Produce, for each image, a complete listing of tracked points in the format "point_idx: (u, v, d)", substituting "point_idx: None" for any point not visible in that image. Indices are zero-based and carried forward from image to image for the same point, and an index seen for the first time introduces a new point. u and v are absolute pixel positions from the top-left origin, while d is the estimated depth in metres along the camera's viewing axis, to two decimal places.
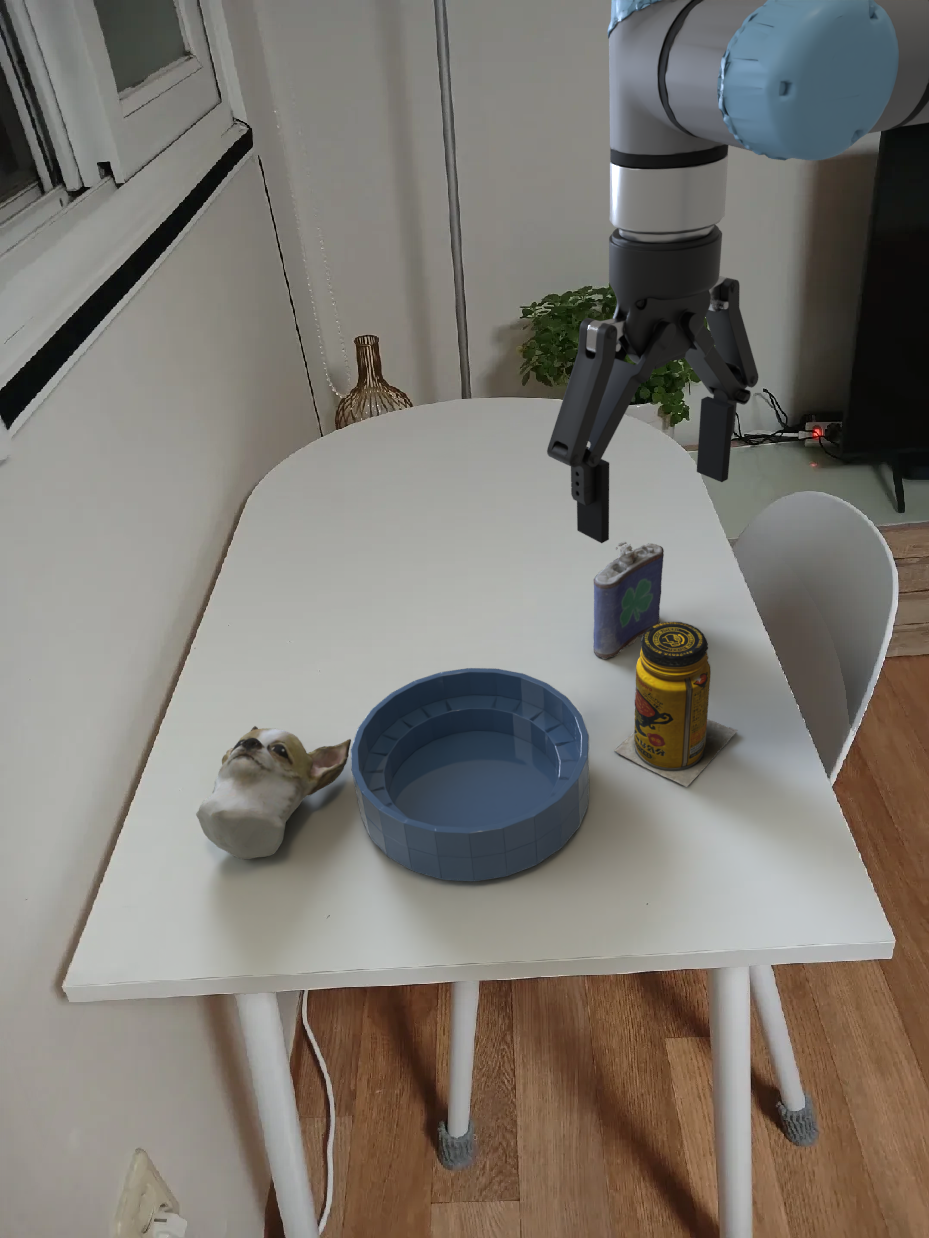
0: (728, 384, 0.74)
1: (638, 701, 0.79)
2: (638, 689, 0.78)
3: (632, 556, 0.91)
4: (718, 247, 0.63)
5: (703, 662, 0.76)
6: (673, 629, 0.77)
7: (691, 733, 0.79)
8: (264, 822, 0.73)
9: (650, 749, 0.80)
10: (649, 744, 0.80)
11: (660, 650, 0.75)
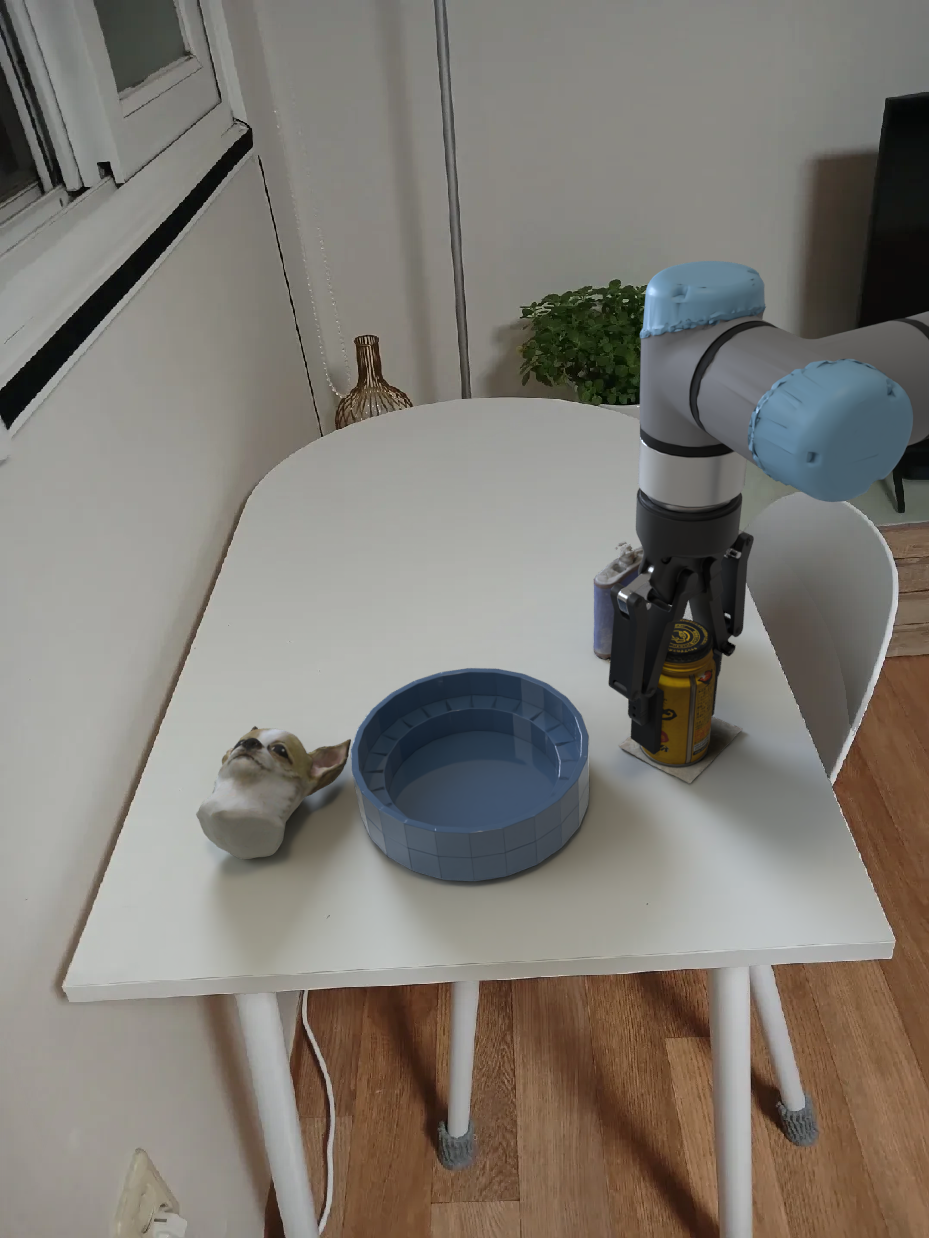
0: (719, 633, 0.78)
1: None
2: None
3: (632, 556, 0.91)
4: (738, 512, 0.68)
5: (708, 659, 0.76)
6: (679, 626, 0.78)
7: (695, 730, 0.79)
8: (264, 822, 0.73)
9: None
10: None
11: None
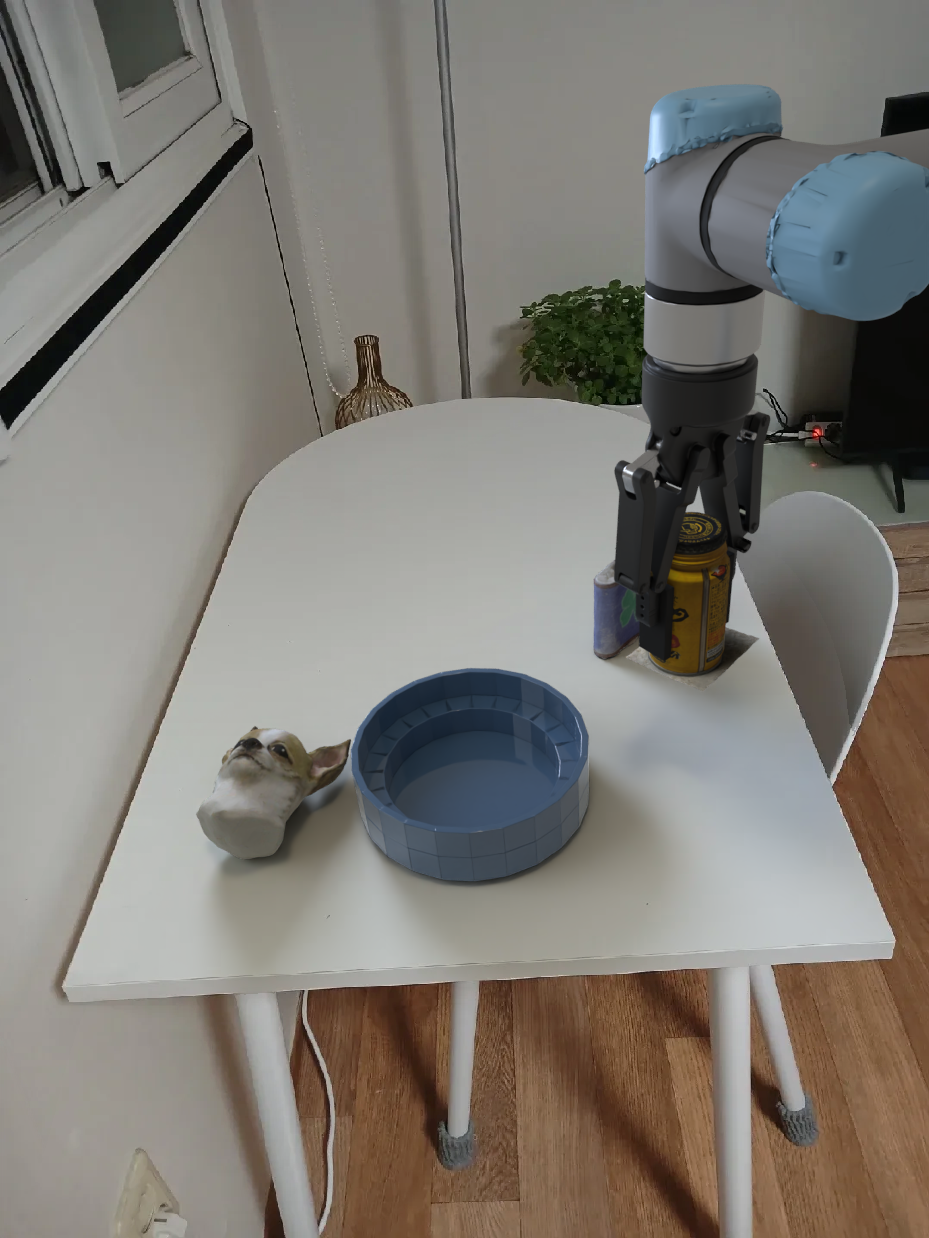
0: (734, 527, 0.72)
1: None
2: None
3: None
4: (754, 375, 0.62)
5: (722, 552, 0.70)
6: (690, 519, 0.72)
7: (708, 633, 0.73)
8: (264, 821, 0.73)
9: None
10: None
11: None
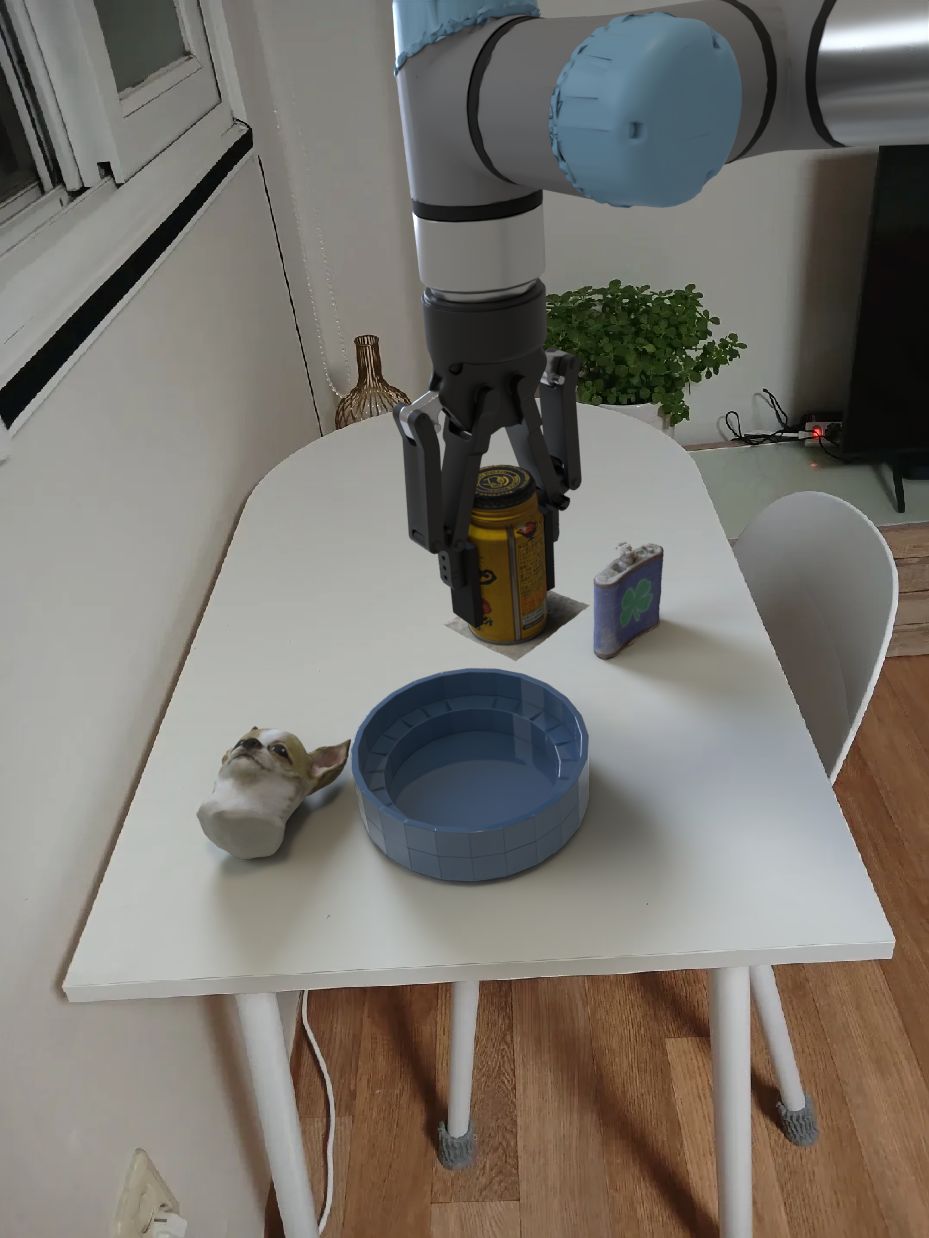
0: (548, 482, 0.66)
1: None
2: None
3: (632, 556, 0.91)
4: (538, 306, 0.56)
5: (529, 508, 0.64)
6: (499, 472, 0.66)
7: (521, 597, 0.67)
8: (264, 822, 0.73)
9: None
10: None
11: (476, 490, 0.64)
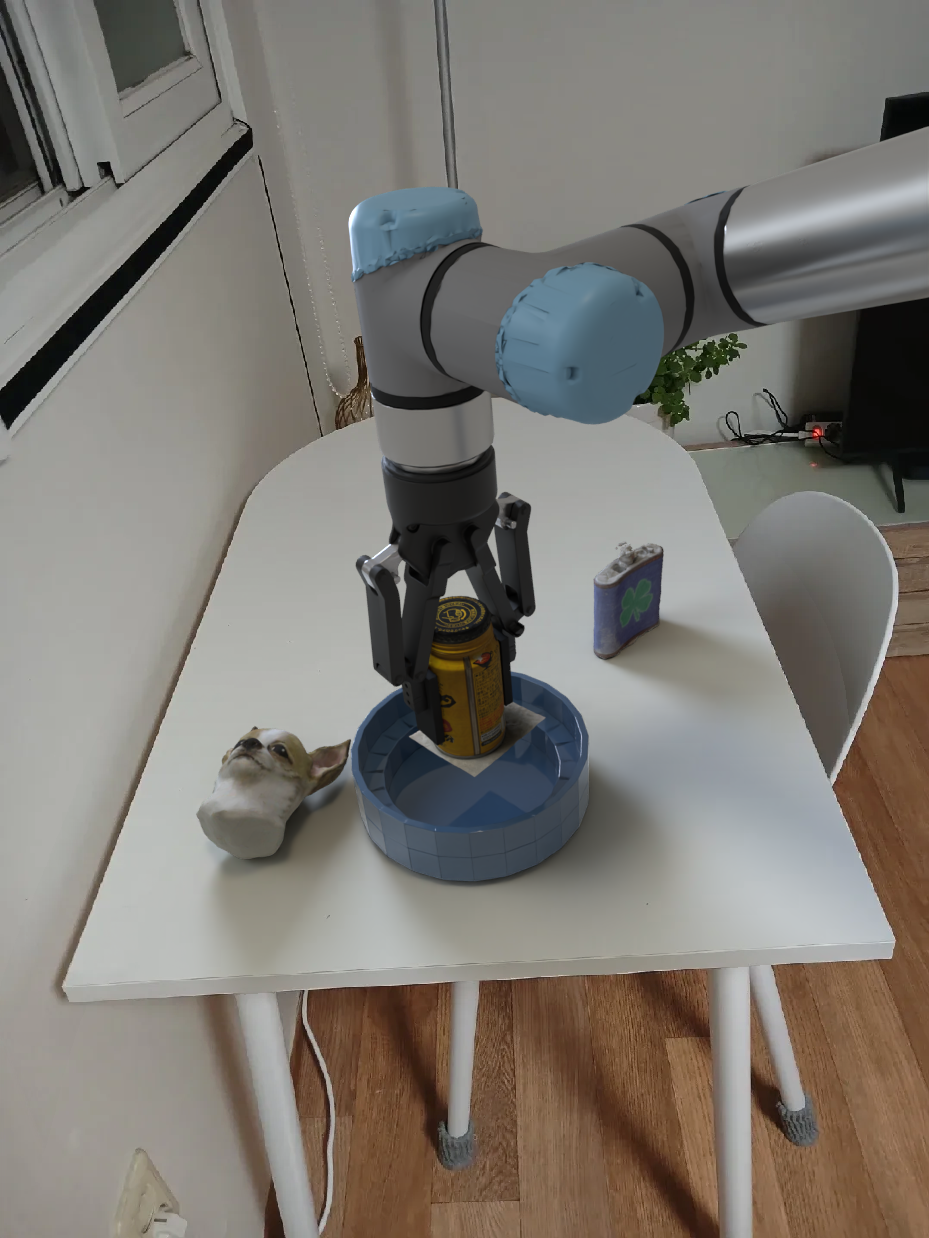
0: (504, 612, 0.71)
1: None
2: None
3: (632, 556, 0.91)
4: (487, 473, 0.61)
5: (485, 640, 0.69)
6: (458, 604, 0.71)
7: (479, 718, 0.72)
8: (264, 821, 0.73)
9: None
10: None
11: (435, 625, 0.69)
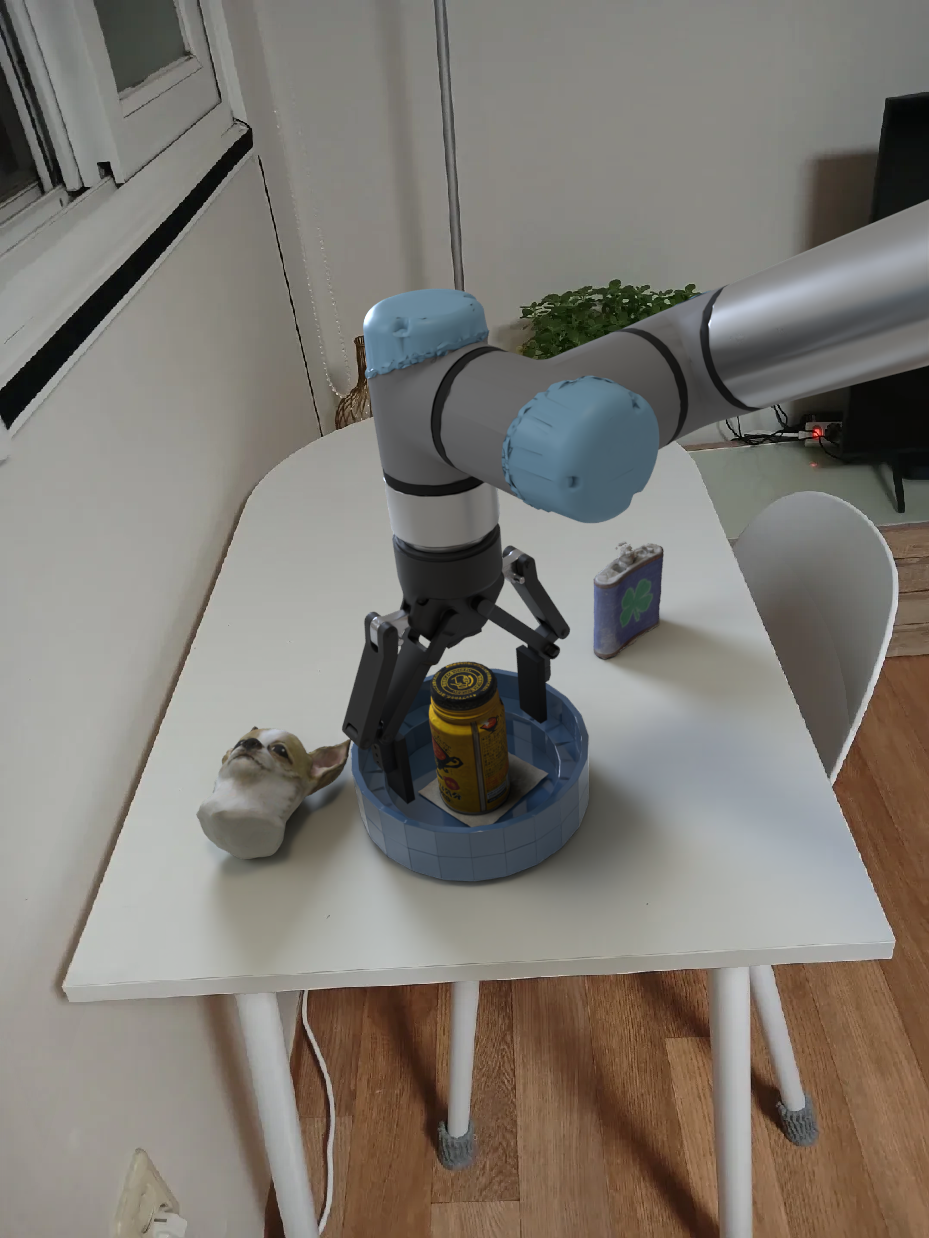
0: (535, 642, 0.75)
1: (433, 743, 0.76)
2: (431, 731, 0.76)
3: (632, 556, 0.91)
4: (493, 551, 0.64)
5: (491, 706, 0.73)
6: (465, 670, 0.74)
7: (485, 777, 0.75)
8: (264, 822, 0.73)
9: (448, 792, 0.77)
10: (446, 787, 0.77)
11: (444, 692, 0.72)
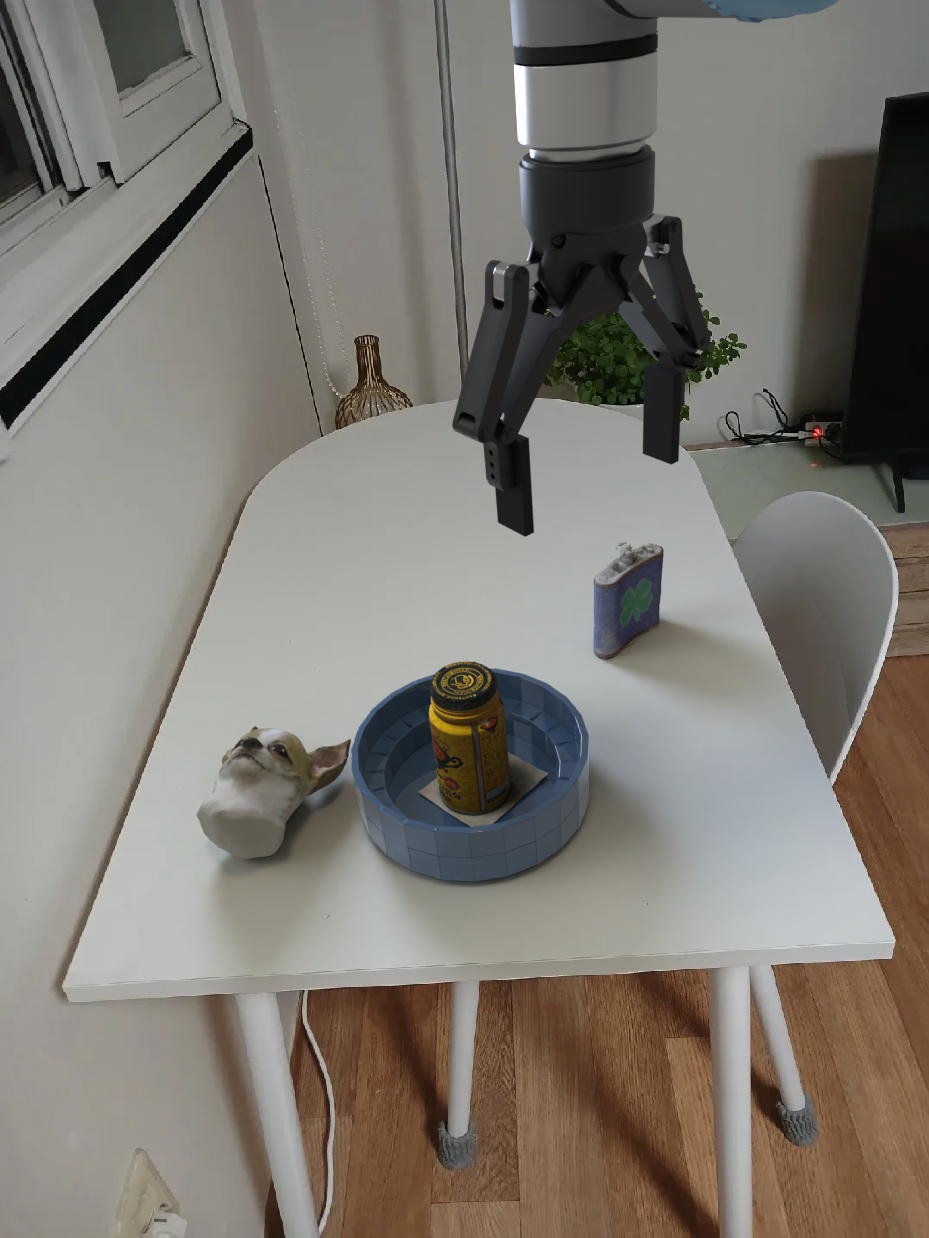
0: (674, 346, 0.62)
1: (433, 743, 0.76)
2: (431, 731, 0.76)
3: (632, 556, 0.91)
4: (650, 168, 0.51)
5: (491, 706, 0.73)
6: (465, 670, 0.74)
7: (485, 777, 0.75)
8: (264, 821, 0.73)
9: (448, 792, 0.77)
10: (446, 787, 0.77)
11: (444, 692, 0.72)
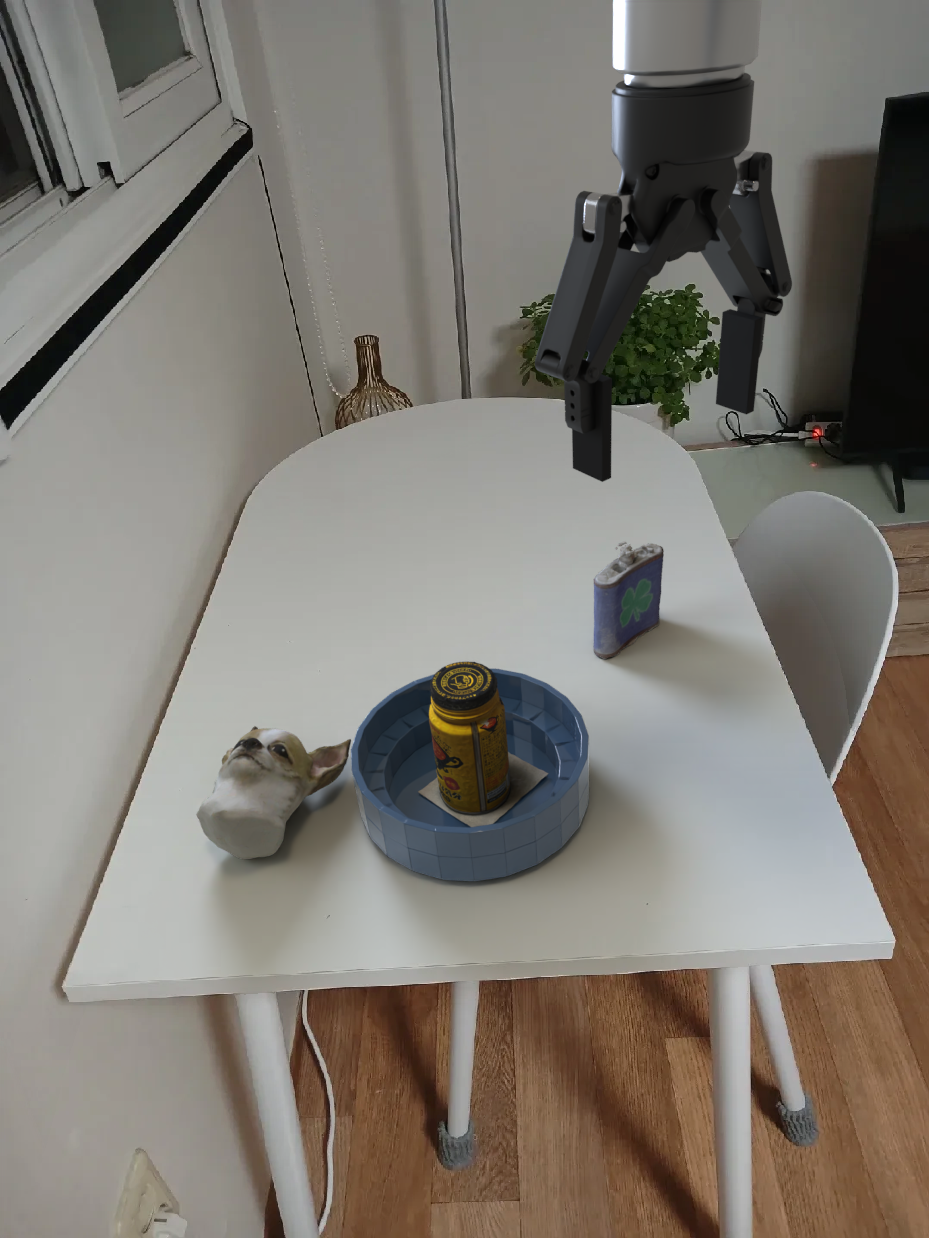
0: (756, 290, 0.61)
1: (433, 743, 0.76)
2: (431, 731, 0.76)
3: (632, 556, 0.91)
4: (749, 96, 0.50)
5: (491, 706, 0.73)
6: (465, 670, 0.74)
7: (485, 777, 0.75)
8: (264, 821, 0.73)
9: (448, 792, 0.77)
10: (446, 787, 0.77)
11: (444, 692, 0.72)
